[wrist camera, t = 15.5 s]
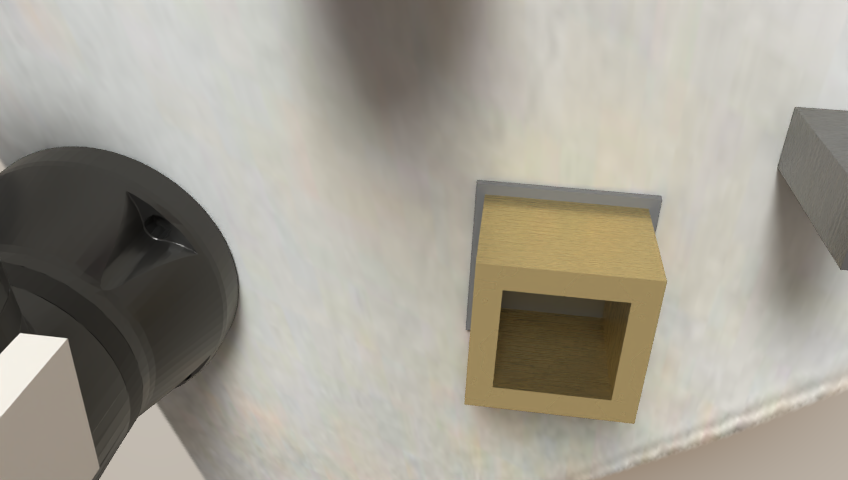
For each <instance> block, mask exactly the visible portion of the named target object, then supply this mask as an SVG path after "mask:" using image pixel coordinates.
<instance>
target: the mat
mask: <svg viewBox="0 0 848 480" xmlns="http://www.w3.org/2000/svg"><path fill="white" fill-rule="evenodd" d="M485 194H487V195H498V196H509V197H521V198H532V199H543V200H555V201H566V202H577V203H588V204H600V205H611V206H622V207H634V208H645V209H649V213H650V217H651V220H652V224H653V228H654V232H655V231H656V227H657V222H658V217H659V213H660V208H661V203H662V197H661V196H655V195H644V194H632V193H621V192H609V191H597V190H586V189H574V188H563V187H551V186H539V185H528V184H516V183H505V182H493V181H482V180H477V187H476V200H475V214H474V227H473V240H472V253H471V267H470V280H469V293H468V306H467V320H466V330H470V329H471V316H472V304H473V291H474V279H475V266H476V257H477V250H478V243H479V235H480V228H481V220H482V213H483V205H484V198H485ZM604 304H605V300H597V299H587V298H577V297H567V296H556V295H546V294H536V293H526V292H516V291H506V290H503V291H502V301H501V308H507V309H517V310H527V311H537V312H547V313H556V314H566V315H576V316H586V317H596V318H602V315H603V310H604Z"/></svg>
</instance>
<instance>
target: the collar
mask: <svg viewBox="0 0 848 480" xmlns="http://www.w3.org/2000/svg"><path fill="white" fill-rule="evenodd" d="M666 284H667V280H666V276H665V272H664V268H663V264H662V260H661V256H660V252H659V248H658V244H657V240H656V236H655V232H654V228H653V224H652V220H651V217H650V213H649V209H645V208H634V207H622V206H611V205H600V204H588V203H577V202H566V201H555V200H543V199H532V198H521V197H509V196H498V195H487V194H485V198H484V205H483V213H482V220H481V228H480V235H479V243H478V250H477V257H476V266H475V279H474V291H473V304H472V316H471V329H470V341H469V354H468V366H467V379H466V391H465V404H466V405H475V406H484V407H492V408H501V409H510V410H519V411H528V412H536V413H545V414H554V415H563V416H572V417H580V418H589V419H598V420H607V421H616V422H624V423H633V424H634V423H635V418H636V414H637V410H638V405H639V401H640V397H641V392H642V388H643V384H644V379H645V375H646V371H647V366H648V362H649V357H650V353H651V349H652V344H653V340H654V336H655V331H656V327H657V323H658V318H659V314H660V310H661V305H662V301H663V297H664V292H665V288H666ZM503 290H506V291H516V292H526V293H536V294H546V295H556V296H567V297H577V298H587V299H597V300H605V304H604V310H603V315H602V318H596V317H586V316H576V315H566V314H556V313H547V312H537V311H527V310H517V309H507V308H501V301H502V291H503Z"/></svg>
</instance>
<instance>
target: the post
mask: <svg viewBox="0 0 848 480" xmlns="http://www.w3.org/2000/svg"><path fill="white" fill-rule="evenodd" d="M778 169H779V171H780V172H781V174H782V175H783V177H784V179H785V180H786V182H787V184H788V185H789V187H790V188H791V190H792V192H793V193H794V195H795V197H796V198H797V200H798V201H799V203H800V205H801V206H802V208H803V209H804V211H805V213H806V214H807V216H808V218H809V219H810V221H811V222H812V224H813V226H814V227H815V229H816V231H817V232H818V234H819V235H820V237H821V239H822V240H823V242H824V244H825V245H826V247H827V248H828V250H829V252H830V253H831V255H832V257H833V258H834V260H835V261H836V263H837V265H838V266H839V268H840V270H848V111H842V110H829V109H815V108H802V107H795V109H794V113H793V116H792V120H791V123H790V126H789V130H788V133H787V137H786V140H785V144H784V147H783V151H782V154H781V158H780V161H779V164H778Z"/></svg>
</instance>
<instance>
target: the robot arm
mask: <svg viewBox="0 0 848 480" xmlns="http://www.w3.org/2000/svg"><path fill="white" fill-rule="evenodd" d="M237 302H238V281H237V274H236V270H235V265H234V262H233V259H232V256H231V253H230V251H229V248H228V246H227V244H226V242H225V240H224V238H223V236H222V235H221V233H220V231H219V230H218V228H217V227H216V225H215V224H214V222H213V221H212V219H211V218H210V217H209V215H208V214H207V213H206V212H205V211H204V209H203V208H202V207H201V206H200V205H199V204H198V203H197V202H196V201H195V200H194V199H193V198H192V197H191V196H190V195H189V194H188V193H187V192H186V191H184V190H183V189H182V188H181V187H180V186H178V185H177V184H176V183H174V182H173V181H172V180H170V179H169V178H167V177H166V176H164V175H163V174H161V173H159V172H158V171H156V170H154V169H153V168H151V167H149V166H147V165H145V164H143V163H141V162H139V161H136V160H134V159H131V158H129V157H126V156H123V155H120V154H117V153H114V152H110V151H106V150H101V149H96V148H88V147H57V148H51V149H45V150H42V151H38V152H35V153H32V154H30V155H27V156H25V157H23V158H21V159H19V160H18V161H16V162H14V163H13V164H12V165H10V166H9V167H7V168H6V169H5V170H3V171H2V172H1V173H0V480H99V478H100V477H101V475H102V473H103V472H104V470H105V469H106V467H107V465H108V464H109V462H110V460H111V459H112V457H113V456H114V454H115V452H116V451H117V449H118V448H119V446H120V444H121V443H122V441H123V440H124V438H125V437H126V435H127V433H128V432H129V430H130V429H131V427H132V425H133V424H134V422H135V421H136V419H137V418H138V416H140V415H141V414H142V413H144V412H145V411H146V410H148V409H149V408H150V407H151V406H152V405H154V404H155V403H156V402H158V401H159V400H160V399H161V398H163V397H164V396H165V395H166V394H168V393H169V392H170V391H171V390H173V389H175V388H177V387H179V386H181V385H182V384H184V383H185V382H187V381H188V380H190V379H191V378H193V377H194V376H195V375H196V374H198V373H199V372H200V371H201V370H202V369H203V368H204V367H205V366H206V365H207V364H208V362H209V361H210V360H211V359H212V358H213V356H214V355H215V353H216V352H217V350H218V348H219V346H220V345H221V343H222V341H223V339H224V338H225V336H226V334H227V332H228V331H229V329H230V327H231V325H232V322H233V320H234V316H235V313H236V309H237Z"/></svg>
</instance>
